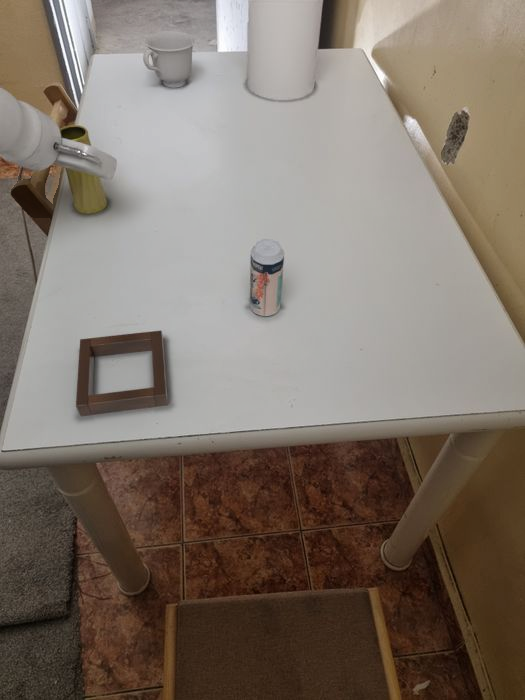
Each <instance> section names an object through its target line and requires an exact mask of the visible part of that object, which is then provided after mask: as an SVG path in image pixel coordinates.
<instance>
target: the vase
mask: <svg viewBox="0 0 525 700" xmlns="http://www.w3.org/2000/svg"><path fill="white" fill-rule="evenodd" d="M59 129H60V133H61V138H65V139H69V140H72V141H76V142H80V143H84V144H87V145H89V146H92V144H91V143H92V142H91V140H90V136H89V131H88V129H87V128H86V127H85V126H83V125H77V124H71V125H65V126H63V127H60V128H59ZM64 169H65V172H66V176H67V181H68V184H69V189H70V195H71V197H72V201H73V207H74V209H75V210H76V211H77V212H78V213H81V214H85V215H86V214H87V215H90V214H97V213H99V212H101V211H103V210H104V209H105V208H106V207H107V205H108V199H107V197H106V194H105V191H104V187H103V184H102V180H101V178H100V177H96V176H93V175H89V174H86V173H82V172H78V171H75V170H71V169H67V168H64Z"/></svg>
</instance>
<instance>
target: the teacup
mask: <svg viewBox="0 0 525 700" xmlns="http://www.w3.org/2000/svg"><path fill="white" fill-rule="evenodd" d="M195 43H196V39H195V37H194V36H193V35H191V34H190V33H188V32H185V31H178V30H162V31H157V32H154V33H152V34H149V35H148V36H147V37H146V38H145V40H144V44H145V45H146V46H147V49H146V50H144V52H143V55H142V56H143V57H142V60H143V61H142V62H143V64H144V66H145V67H146V68H147V70H150V71H154V72H155V74H156V76H157V77H158V78H159V79H160V80H162V84H163V85H164V86H165V87H167V88H171V89H173V88H175V89H177V88H180V87H183V86H185V85H186V82H187V81H186V79H188V77H189V76H190V75H191V72H192V66H193V48H194V45H195ZM149 57H151V62H152V65H151V64H150V61H149V59H150V58H149Z"/></svg>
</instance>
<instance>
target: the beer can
mask: <svg viewBox="0 0 525 700" xmlns="http://www.w3.org/2000/svg"><path fill="white" fill-rule="evenodd" d="M284 262H285V251H284V249H283V247H282V246H281V244H280V243H279V241H276V240H274V239H271V238H263V239H261V240H258V241H256V242H255V244H254V246H253V247H252V248H251V250H250V268H249V269H250V270H249V271H250V274H249V275H250V277H249V279H250V280H249V285H250V286H249V306H250V309H251V311H252V312H253V313H255V314H256V315H258V316H261V317H270V316H274V315H275V314H277V313H278V312H279V310H280V309H281V302H282V291H283V290H282V288H283V277H284V276H283V275H284V264H285V263H284Z"/></svg>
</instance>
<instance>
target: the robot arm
mask: <svg viewBox="0 0 525 700" xmlns="http://www.w3.org/2000/svg"><path fill="white" fill-rule="evenodd" d="M60 129H61V128H60V127H59V125H58V124H57V122H56V120H54V119H53V118H52V117H51V116H50V115H48V114H46V113H45V112H43V111H41V110H39V109H38V108H36V107H34V106H33V105H31V104H29V103H28V102H26V101H23V100H19V99H16V97H15V96H14V95H13V94H11V93H10V92H9V91H8V90H7V89H5V88H2V87H1V86H0V158H2V159H3V160H5V161H7V162H9V163H12V164H13V165H16V166H19V167H21V168H23V169H25V170H29V171H32V172H40V171H44V170H46V169H48V168H50V166H52V165H53V166H57V167H61V168H64V169H65V168H67V169H71V170H75V171H78V172H82V173H86V174H89V175H93V176H96V177H100V179H103V180H110V181H111V180H112V179H113V178H114V176H115V174H116V170H117V165H118V162H117V161H118V160H117V159H116V157H114V156H112V155H110V154H109V153H106V152H105V151H103V150H101V149H98V148H97V147H94V146H92V145H91V146H89V145H87V144H84V143H80V142H76V141H72V140H69V139H65V138H61V133H60Z"/></svg>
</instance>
